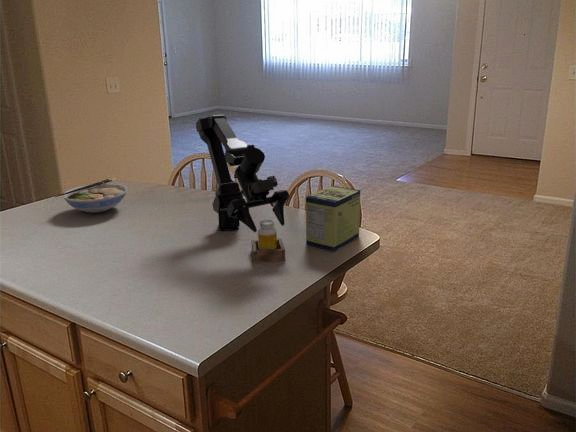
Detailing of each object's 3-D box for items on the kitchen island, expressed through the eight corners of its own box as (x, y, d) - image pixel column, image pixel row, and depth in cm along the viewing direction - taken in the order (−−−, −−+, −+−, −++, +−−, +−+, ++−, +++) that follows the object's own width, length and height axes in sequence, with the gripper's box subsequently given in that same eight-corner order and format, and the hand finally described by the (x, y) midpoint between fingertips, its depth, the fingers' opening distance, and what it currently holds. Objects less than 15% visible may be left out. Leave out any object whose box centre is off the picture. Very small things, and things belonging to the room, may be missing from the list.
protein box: (359, 236, 168) (361, 189, 163) (334, 252, 156) (335, 202, 151) (331, 230, 174) (332, 184, 169) (305, 244, 162) (304, 196, 157)
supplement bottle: (257, 250, 156) (256, 219, 153) (274, 248, 157) (274, 218, 154) (260, 257, 151) (259, 225, 148) (278, 255, 152) (277, 224, 149)
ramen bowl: (90, 225, 181) (87, 202, 179) (49, 214, 193) (45, 193, 190) (144, 206, 201) (142, 185, 199) (104, 197, 213) (101, 177, 210)
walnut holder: (253, 262, 150) (253, 251, 148) (251, 250, 158) (251, 240, 157) (285, 260, 151) (285, 249, 150) (281, 248, 159) (281, 238, 158)
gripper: (229, 172, 144) (250, 221, 139) (286, 163, 154) (308, 208, 149) (218, 193, 153) (237, 240, 148) (272, 183, 163) (292, 226, 158)
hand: (269, 228), depth 150 cm, fingers open, 9 cm apart
